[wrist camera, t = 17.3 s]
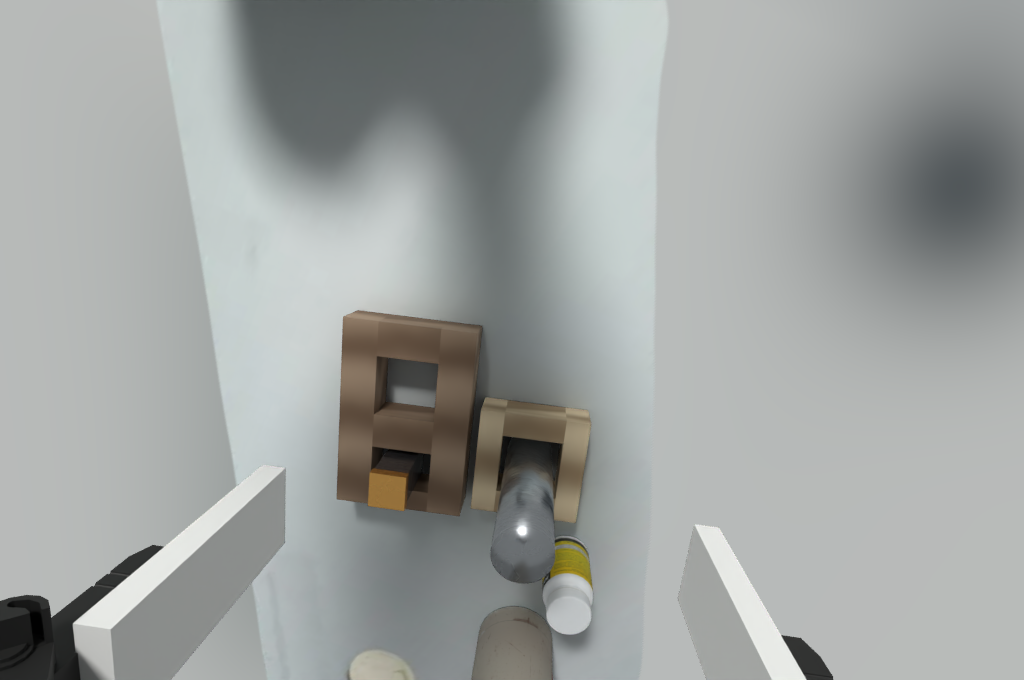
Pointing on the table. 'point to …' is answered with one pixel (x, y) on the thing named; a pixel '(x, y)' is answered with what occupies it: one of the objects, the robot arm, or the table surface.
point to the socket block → (403, 425)
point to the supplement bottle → (568, 587)
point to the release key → (394, 479)
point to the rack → (534, 425)
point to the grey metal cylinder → (525, 513)
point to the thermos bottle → (513, 646)
